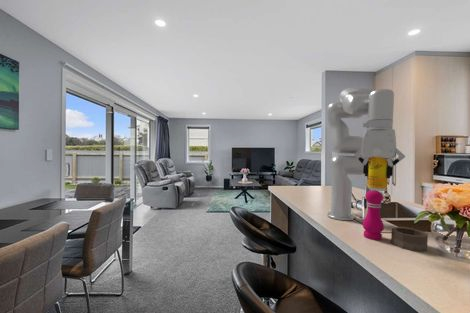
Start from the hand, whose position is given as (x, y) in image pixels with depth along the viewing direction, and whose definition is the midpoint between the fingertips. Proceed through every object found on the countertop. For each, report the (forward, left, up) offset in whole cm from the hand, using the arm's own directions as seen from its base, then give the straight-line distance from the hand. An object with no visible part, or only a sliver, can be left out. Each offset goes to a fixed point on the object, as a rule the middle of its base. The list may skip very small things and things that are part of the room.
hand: (377, 176), depth 85 cm
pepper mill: (-10, -2, -25) cm, 27 cm away
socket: (-10, +9, -25) cm, 28 cm away
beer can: (0, 0, -5) cm, 5 cm away
